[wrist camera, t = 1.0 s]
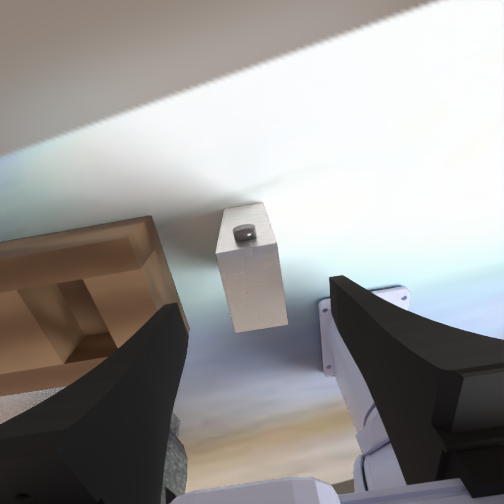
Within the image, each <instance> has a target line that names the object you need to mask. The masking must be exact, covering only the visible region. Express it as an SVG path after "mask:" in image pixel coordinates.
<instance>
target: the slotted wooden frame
mask: <svg viewBox="0 0 504 504" xmlns="http://www.w3.org/2000/svg"><path fill="white" fill-rule="evenodd" d="M171 303H177V304H178V306H179V309H180V312H181V315H182V318H183V321H184V324H185V327H186V330H187V333H189V329H190V328H189V326H188V323H187V320H186V317H185V314H184V311H183V308H182V305H181V302H180V299H179V296H178V293H177V290H176V287H175V284H174V281H173V278H172V276H171V273H170V270H169V267H168V264H167V261H166V258H165V255H164V252H163V249H162V246H161V243H160V240H159V237H158V234H157V231H156V228H155V225H154V223H153V220H152V217H151V216H146V217H140V218H135V219H129V220H123V221H118V222H112V223H106V224H101V225H95V226H89V227H84V228H78V229H72V230H67V231H61V232H55V233H50V234H44V235H38V236H33V237H27V238H21V239H16V240H10V241H4V242H0V396H6V395H12V394H19V393H25V392H31V391H38V390H44V389H50V388H57V387H63V386H69V385H70V384H72V383H73V382H75V381H76V380H78V379H79V378H80V377H82V376H83V375H85V374H86V373H88V372H89V371H91V370H92V369H93V368H95V367H96V366H97V365H99V364H100V363H101V362H102V361H104V360H105V359H106V358H108V357H109V356H110V355H111V354H112V353H114V352H115V351H116V350H117V349H118V348H119V347H121V346H122V345H123V344H124V343H125V342H126V341H127V340H128V339H129V338H130V337H131V336H133V335H134V334H135V333H136V332H137V331H138V330H139V329H140V328H141V327H142V326H143V325H144V324H145V323H146V322H147V321H148V320H149V319H150V318H151V317H152V316H153V315H154V314H155V313H156V312H157V311H158V310H159V309H160V308H161V307H162V306H163V305H165V304H171Z"/></svg>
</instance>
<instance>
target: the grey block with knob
mask: <svg viewBox="0 0 504 504" xmlns="http://www.w3.org/2000/svg"><path fill="white" fill-rule="evenodd" d="M215 254H216V258H217V262H218V266H219V270H220V274H221V278H222V282H223V286H224V290H225V294H226V298H227V302H228V306H229V310H230V314H231V318H232V322H233V326H234V330H235V333H240V332H246V331H252V330H258V329H264V328H271V327H277V326H283V325H288V319H287V312H286V305H285V297H284V290H283V283H282V276H281V268H280V261H279V254H278V247H277V242H276V239H275V236H274V233H273V230H272V227H271V224H270V221H269V218H268V215H267V212H266V209H265V206H264V203H263V202H262V203H257V204H251V205H245V206H240V207H234V208H228V209H224V213H223V218H222V223H221V228H220V233H219V238H218V243H217V248H216V253H215Z"/></svg>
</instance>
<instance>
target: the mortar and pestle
mask: <svg viewBox="0 0 504 504" xmlns="http://www.w3.org/2000/svg"><path fill="white" fill-rule="evenodd" d="M179 426H180V420H179V419H178V418H177V416H176V415H175V414H174V413H173V412H172V417H171V423H170V429H169V436H168V443H167V451H166V458H165V466H164V475H163V484H162V494H161V504H170V503H171V502H172V501H173V500H174V499H175V498H176V497H177V496H180V495H183V494H185V487H186V481H187V456H186V453H185V449H184V446H183V444H182V443H181V442H180V441H179V439H178V438H177V436H178V433H179Z"/></svg>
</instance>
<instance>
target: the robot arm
mask: <svg viewBox="0 0 504 504" xmlns="http://www.w3.org/2000/svg"><path fill="white" fill-rule="evenodd" d="M329 282H330V298H329V299H323V300H321V301H320V302H319V319H320V332H321V345H322V359H323V372H324V375H325V376H326V377H333V376H335V377H336V380H337V382H338V385H339V387H340V390H341V393H342V395H343V398H344V400H345V403H346V405H347V408H348V410H349V413H350V416H351V418H352V421H353V423H354V426H355V428H356V430H357V432H358V434H356V438H357V441H358V443H359V446H360V449H361V451H362V454H361V455H359V456H358V457H357V459H356V460H355V463H354V471H353V474H354V487H355V493H348V494H342V495H337V494H336V492H335V490H334V489H333V487H332V486H331V485H329V484H328V483H326V482H324V481H321V480H318V479H316V478H313V477H287V478H280V479H273V480H266V481H259V482H252V483H245V484H238V485H231V486H224V487H217V488H210V489H203V490H196V491H193V492H189V493H186V494H183V495H180V496H177V497H176V498H175V499H174V500H173V501H172V502H171V503H170V504H504V340H502V339H497V338H492V337H488V336H484V335H480V334H476V333H472V332H468V331H464V330H461V329H458V328H454V327H451V326H448V325H445V324H442V323H439V322H436V321H433V320H430V319H427V318H425V317H422V316H419V315H417V314H415V313H412V312H410V311H408V307H409V297H410V290H409V289H408V288H407V287H397V288H391V289H384V290H378V291H372V292H370V291H368V290H366V289H365V288H363V287H361V286H360V285H358V284H356V283H355V282H353V281H352V280H350V279H348V278H347V277H345V276H343V275H341V276H334V277H329ZM402 296H404V297H403V298H402ZM325 308H326V310H324V311H323V309H325ZM188 337H189V335H188V333H187V330H186V327H185V324H184V321H183V318H182V315H181V312H180V309H179V306H178V304H177V303H171V304H165V305H163V306H162V307H161V308H160V309H159V310H158V311H157V312H156V313H155V314H154V315H153V316H152V317H151V318H150V319H149V320H148V321H147V322H146V323H145V324H144V325H143V326H142V327H141V328H140V329H139V330H138V331H137V332H136V333H135V334H134V335H133V336H131V337H130V338H129V339H128V340H127V341H126V342H125V343H124V344H123V345H122V346H121V347H119V348H118V349H117V350H116V351H115V352H114V353H112V354H111V355H110V356H109V357H108V358H106V359H105V360H104V361H102V362H101V363H100V364H99V365H97V366H96V367H95V368H93V369H92V370H91V371H89V372H88V373H86V374H85V375H83V376H82V377H80V378H79V379H78V380H76V381H75V382H73V383H72V384H70V385H69V386H67V387H66V388H64V389H63V390H61V391H59V392H58V393H56V394H55V395H53V396H51V397H49V398H48V399H46V400H44V401H43V402H41V403H39V404H38V405H36V406H34V407H32V408H30V409H29V410H27V411H25V412H23V413H21V414H19V415H17V416H15V417H14V418H12V419H10V420H8V421H6V422H4V423H2V424H0V504H161V494H162V484H163V475H164V466H165V458H166V451H167V443H168V436H169V429H170V423H171V417H172V411H173V406H174V402H175V398H176V394H177V390H178V386H179V383H180V379H181V375H182V371H183V367H184V363H185V359H186V355H187V347H188ZM327 365H328V366H327Z"/></svg>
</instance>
